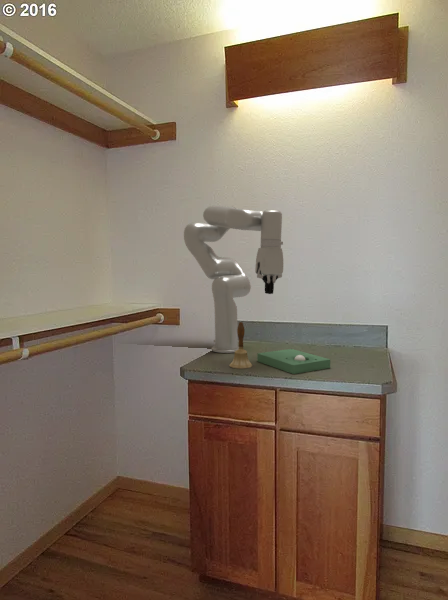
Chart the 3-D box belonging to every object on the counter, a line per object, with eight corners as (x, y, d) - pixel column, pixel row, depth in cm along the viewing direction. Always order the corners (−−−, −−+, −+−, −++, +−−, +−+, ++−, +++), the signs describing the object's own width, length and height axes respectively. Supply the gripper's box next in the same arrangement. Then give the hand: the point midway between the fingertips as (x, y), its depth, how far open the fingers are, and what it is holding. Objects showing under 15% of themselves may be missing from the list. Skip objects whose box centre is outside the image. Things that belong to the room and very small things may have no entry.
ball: (292, 366, 154) (292, 354, 155) (301, 366, 156) (301, 355, 156) (298, 366, 151) (297, 354, 151) (308, 366, 152) (307, 354, 153)
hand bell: (256, 364, 158) (256, 321, 157) (245, 369, 151) (245, 324, 150) (236, 362, 162) (235, 320, 161) (225, 367, 155) (224, 323, 154)
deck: (257, 361, 164) (257, 353, 163) (291, 356, 171) (291, 348, 171) (293, 374, 144) (293, 365, 144) (330, 367, 152) (330, 359, 152)
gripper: (280, 244, 168) (279, 291, 171) (248, 243, 161) (246, 293, 163) (293, 244, 162) (291, 293, 164) (259, 244, 154) (258, 295, 157)
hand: (269, 293), depth 164 cm, fingers closed
